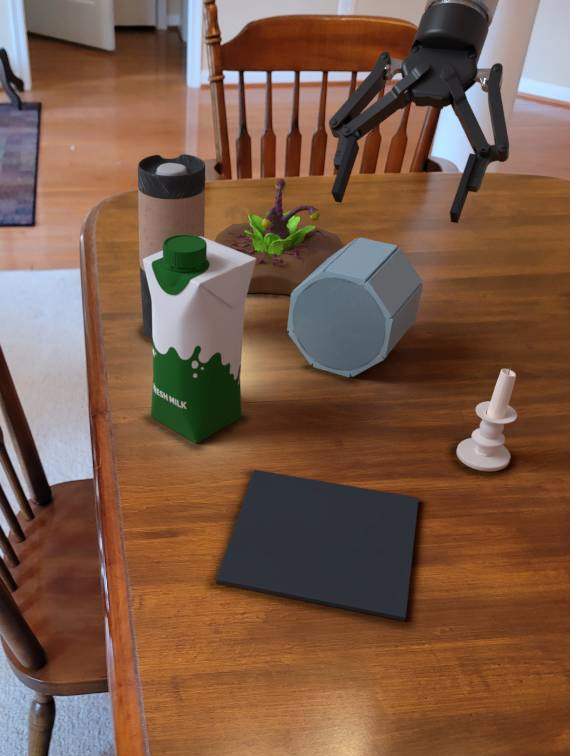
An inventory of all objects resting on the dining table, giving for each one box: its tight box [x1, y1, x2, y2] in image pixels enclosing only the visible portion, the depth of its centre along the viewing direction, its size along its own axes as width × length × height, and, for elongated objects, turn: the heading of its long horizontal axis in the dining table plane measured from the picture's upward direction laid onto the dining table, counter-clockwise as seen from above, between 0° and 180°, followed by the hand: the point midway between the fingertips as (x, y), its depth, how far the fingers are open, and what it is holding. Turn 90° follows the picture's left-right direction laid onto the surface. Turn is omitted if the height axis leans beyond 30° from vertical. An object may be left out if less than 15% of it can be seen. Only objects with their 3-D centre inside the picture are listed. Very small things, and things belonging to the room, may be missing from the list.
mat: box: [215, 469, 420, 622], centre depth 76 cm, size 16×16×1 cm
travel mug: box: [137, 153, 206, 340], centre depth 98 cm, size 8×8×20 cm
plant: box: [214, 178, 344, 296], centre depth 115 cm, size 20×20×11 cm
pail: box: [286, 237, 424, 378], centre depth 96 cm, size 10×12×12 cm
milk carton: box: [143, 235, 256, 444], centre depth 84 cm, size 9×9×20 cm
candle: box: [455, 366, 518, 472], centre depth 81 cm, size 5×5×10 cm
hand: (393, 207), depth 94 cm, fingers open, 13 cm apart
